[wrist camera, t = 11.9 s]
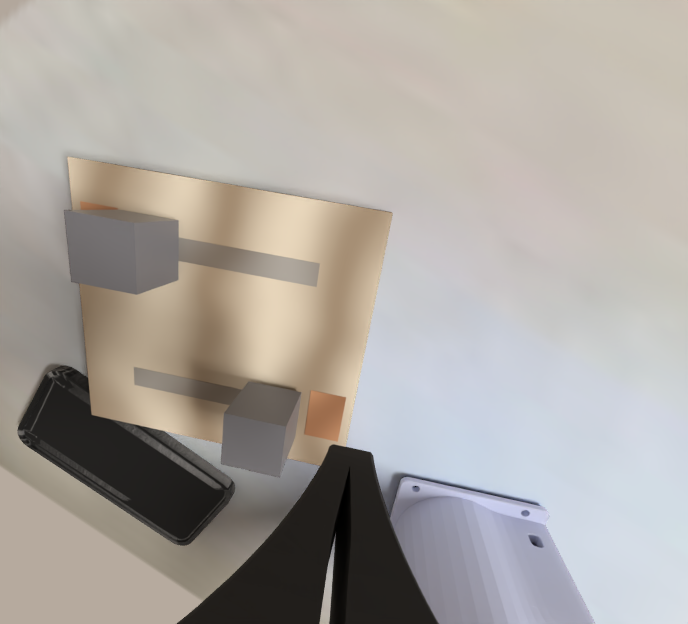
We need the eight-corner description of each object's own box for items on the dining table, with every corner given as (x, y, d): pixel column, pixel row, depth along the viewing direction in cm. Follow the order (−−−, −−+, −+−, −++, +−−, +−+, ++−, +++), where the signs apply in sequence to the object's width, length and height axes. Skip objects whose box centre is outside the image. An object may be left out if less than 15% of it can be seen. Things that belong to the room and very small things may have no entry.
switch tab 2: (301, 392, 18) (286, 426, 15) (295, 436, 19) (279, 477, 16) (248, 381, 18) (223, 413, 15) (245, 426, 19) (220, 464, 16)
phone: (50, 364, 22) (236, 494, 23) (66, 356, 23) (242, 481, 24) (12, 437, 24) (183, 551, 26) (28, 428, 25) (191, 537, 27)
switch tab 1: (178, 220, 16) (134, 223, 13) (178, 280, 17) (137, 294, 14) (120, 209, 16) (64, 209, 13) (123, 269, 17) (71, 281, 14)
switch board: (391, 212, 17) (392, 213, 15) (344, 447, 22) (340, 470, 20) (100, 162, 18) (66, 156, 16) (115, 397, 23) (91, 415, 21)
